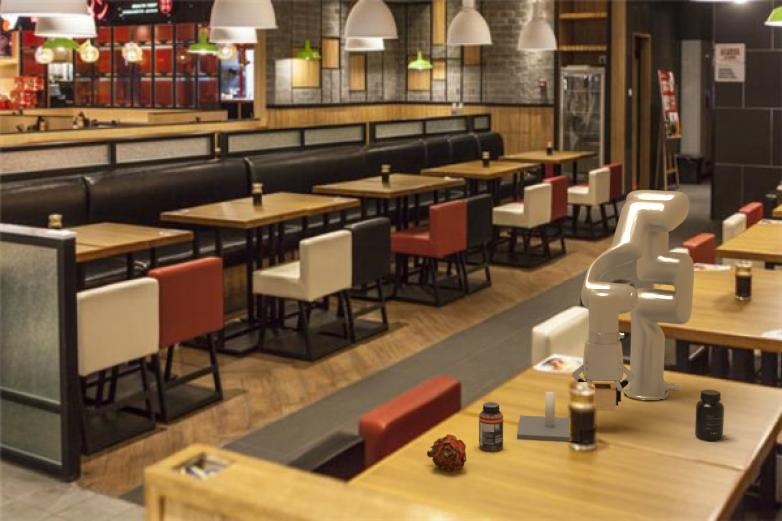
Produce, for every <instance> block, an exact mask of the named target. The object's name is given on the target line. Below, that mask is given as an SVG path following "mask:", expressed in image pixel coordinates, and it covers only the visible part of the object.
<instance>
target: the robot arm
mask: <svg viewBox="0 0 782 521" xmlns="http://www.w3.org/2000/svg"><path fill="white" fill-rule="evenodd" d="M689 212H690V200H689V197H688V196H687V194H686V193H685V192H681V191H674V190H655V189H654V190H653V189H637V190H634V191H633V190H632V191H631V192H629V193H628V194H627V195H626V200H625V203H624V205H622V208H621V211H620V214H619V218H618V221H617V225H616V228H615V232H614V236H613V240H612V244H611V246H609V248H607V249H606V250H604V251H603V252H602V253H601V254H599V255H598V256H597V257H596V258H595V259H594V260H593V261H592V262H591V264H590V265H589V267H588V269H587V271H586V274H585V276H584V277H585V278H584V281H583V283H582V288H581V293H580V296H581V297H580V298H581V302H582V305H583V306H584V307H585V308H587V309H588V339H587V340H585V343H584V347H583V355H582V357H583V358H582V360H583V361H582V364H581V365H580V366H579V367H578V368H576V369H575V370H574V371H573V372H571V373H572V374H571V376H572V378H573V379H574V380H575V381H577V383H578V382H587V383H589V384H591V382H613V383H615V385H616V407H619V402H622V391H623V394H624V393H625V394H626V395H628V396H630V397H634V398H637V399H645V400H658V401H661V400H660V399H663V400H666V399H667V398H669V392H679V393H680V392H681V385H680V384H675V383H670V382H669V383H668V382H666V381H665V379H664V373H665V370H664V369H665V347H666V345H665V344H666V339H665V338H666V337H665V333H664V331H663V330H662V328H661V325H660V323H662V324H670V325H671V324H672V325H685V324H687V323H688V322H689V320H690V318H691V315H692V313H693V312H692V310H693V295H694V283H695V282H694V279H695V264H694V260H693V258H692V256H691V255H689V254H687V253H685V252H680V251H679V252H678V251H670V249H669V242H670V241H669V240H670V239H669V237H670V235H669V232H672V231H674V230H676V228H678V226H680V225H681V224H682V223H683V222H684V221H685V220H686V218H687V217H688V215H689ZM633 262H636V276H637V279H638V280H639V281H641V282H642V283H647V284H655V285H663V286H664V285H665V286H672V287H673V290H671V289H663V288H653V287H640V288H635V287H634V286H633V285H630V284H626V283H616V282H609V281H608V282H607V281H601V279H602V278H603V277H604V275H605V274H607V273H608V272H609V271H612V270H613V269H616V268H619V267H622V266H624V265H627V264H631V263H633ZM627 313H629V317H630V359H629V361H630V362H629V369H628V368H627V367H626V366H625V365H624V355H623V354H624V353H623V345H622V341H621V340H620V339H624V338H625V333H624V332H621V331H620V330H619V324H620V323H619V322H620V321H619V316H620V315H622V314H627ZM581 374H583V378H582V377H581V376H580V375H581ZM624 374H625V375H626V377H625V378H623V377H624ZM584 379H585V380H584ZM622 379H623V380H622ZM628 385H629V386H628ZM626 386H627V387H626ZM666 397H667V398H666ZM665 398H666V399H665Z"/></svg>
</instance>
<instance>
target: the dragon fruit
mask: <svg viewBox="0 0 782 521" xmlns="http://www.w3.org/2000/svg"><path fill="white" fill-rule="evenodd" d="M466 448H467V447H466V444H465V442H464V441H463V440H462V439H458V438H457V437H456V435H453V434H446V435H445V436H444V437H442V438H441V437H440V438H437V439H436V440H435V441H434V442H433V445H431V446H430V449H431V450H427V451H426V455H427V457H428V458H432V462H433V465H434V466H436V467H437V468H438V469H443V470H444V471H447V472H453V471H455V470H458V468H461V467H463V466H464V465H465V464H466V463H465V462H467V453H466Z"/></svg>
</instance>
